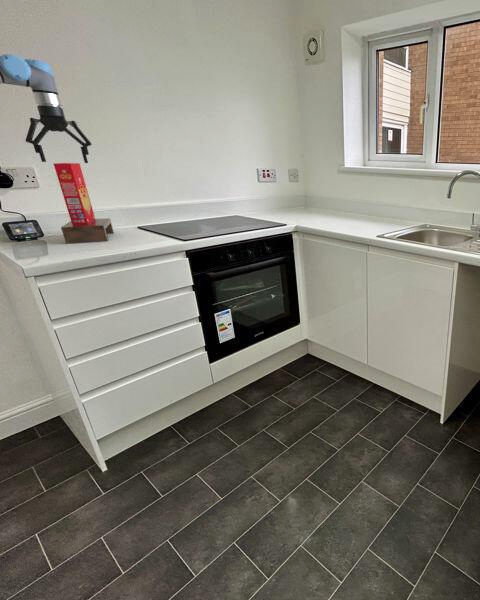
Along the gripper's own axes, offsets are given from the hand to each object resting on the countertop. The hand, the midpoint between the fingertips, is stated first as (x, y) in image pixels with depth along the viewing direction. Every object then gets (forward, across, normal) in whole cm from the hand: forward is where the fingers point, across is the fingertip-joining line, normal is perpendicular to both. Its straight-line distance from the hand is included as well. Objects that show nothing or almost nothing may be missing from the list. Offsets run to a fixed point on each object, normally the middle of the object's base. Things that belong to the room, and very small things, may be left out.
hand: (65, 162), depth 149 cm
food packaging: (+26, 0, 0) cm, 26 cm away
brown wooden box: (+32, -2, 0) cm, 32 cm away
